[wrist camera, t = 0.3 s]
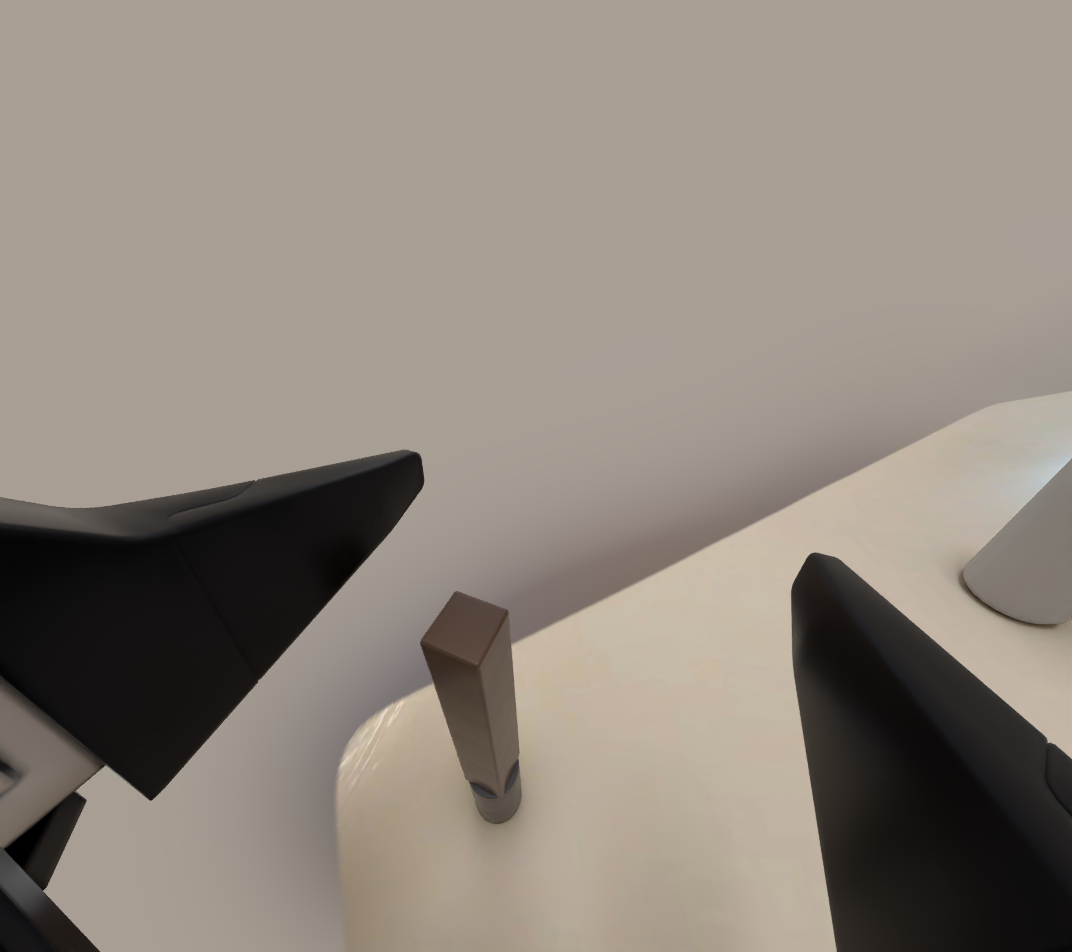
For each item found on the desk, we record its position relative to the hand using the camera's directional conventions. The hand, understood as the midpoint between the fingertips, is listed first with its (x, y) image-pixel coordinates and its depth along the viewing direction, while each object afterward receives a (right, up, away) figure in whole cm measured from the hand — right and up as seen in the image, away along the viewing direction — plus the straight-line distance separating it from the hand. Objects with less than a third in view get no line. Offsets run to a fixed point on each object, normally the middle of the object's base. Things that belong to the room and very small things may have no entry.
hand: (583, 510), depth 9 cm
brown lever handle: (-3, -13, +8) cm, 16 cm away
